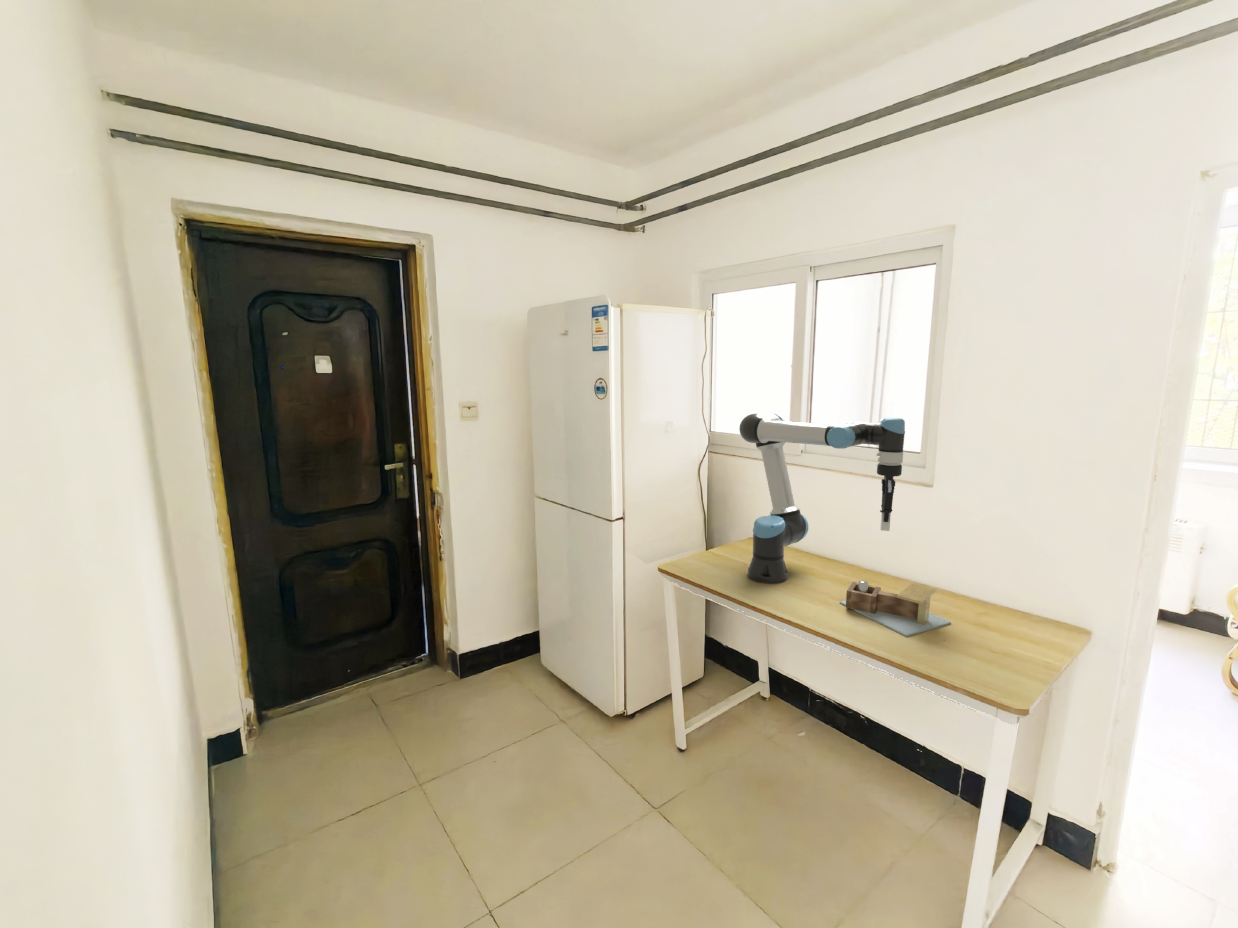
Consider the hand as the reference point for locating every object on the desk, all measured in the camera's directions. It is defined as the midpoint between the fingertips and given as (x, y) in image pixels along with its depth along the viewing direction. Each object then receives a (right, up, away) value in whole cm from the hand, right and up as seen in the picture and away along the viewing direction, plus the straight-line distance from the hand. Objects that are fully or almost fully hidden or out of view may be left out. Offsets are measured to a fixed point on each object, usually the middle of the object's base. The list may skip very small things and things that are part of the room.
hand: (884, 529), depth 185 cm
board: (-2, -26, -9) cm, 28 cm away
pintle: (-9, -25, -3) cm, 27 cm away
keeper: (+2, -27, -15) cm, 31 cm away
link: (-5, -26, -8) cm, 27 cm away
